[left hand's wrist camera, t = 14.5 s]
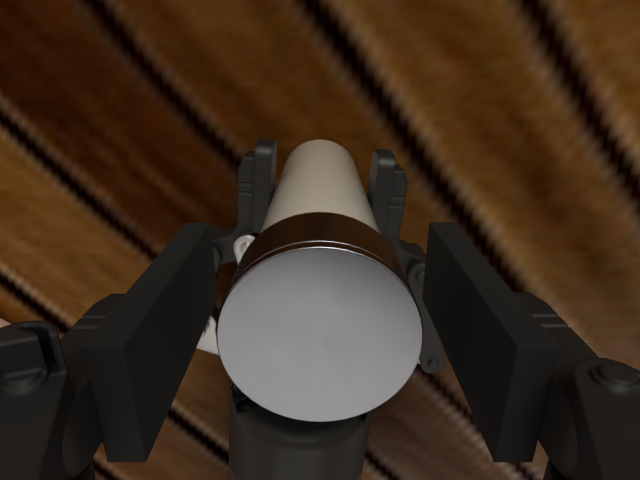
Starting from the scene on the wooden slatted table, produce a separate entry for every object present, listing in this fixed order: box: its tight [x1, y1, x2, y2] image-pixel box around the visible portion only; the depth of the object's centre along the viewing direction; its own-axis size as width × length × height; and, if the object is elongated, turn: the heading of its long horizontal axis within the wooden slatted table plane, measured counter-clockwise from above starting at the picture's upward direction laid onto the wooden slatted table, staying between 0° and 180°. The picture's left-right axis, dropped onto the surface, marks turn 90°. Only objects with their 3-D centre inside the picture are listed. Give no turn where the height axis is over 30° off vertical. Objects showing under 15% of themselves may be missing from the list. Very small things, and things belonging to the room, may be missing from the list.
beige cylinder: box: [260, 140, 380, 234], centre depth 18 cm, size 4×4×16 cm
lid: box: [216, 212, 423, 422], centre depth 11 cm, size 5×5×2 cm
